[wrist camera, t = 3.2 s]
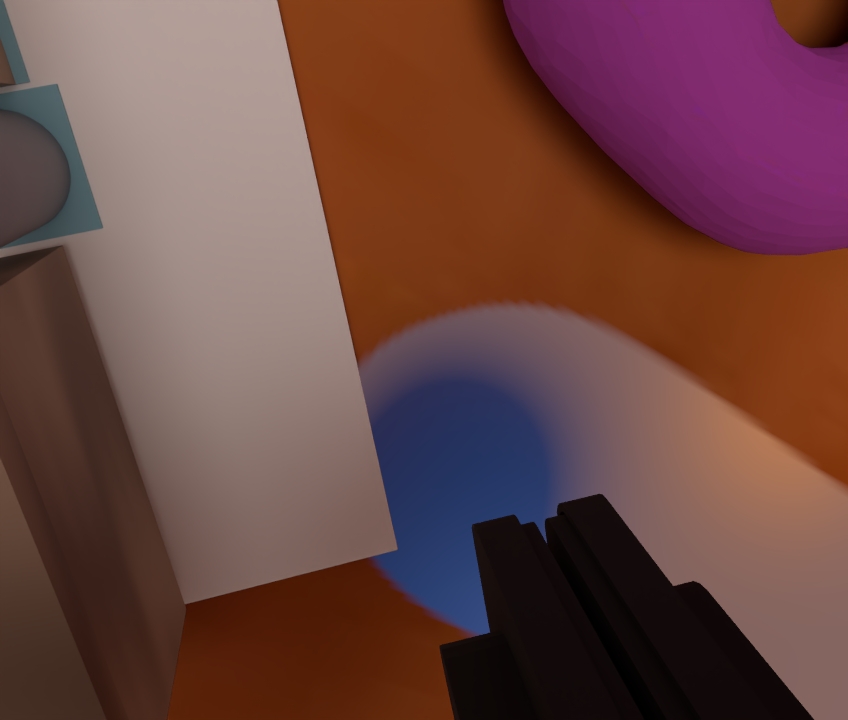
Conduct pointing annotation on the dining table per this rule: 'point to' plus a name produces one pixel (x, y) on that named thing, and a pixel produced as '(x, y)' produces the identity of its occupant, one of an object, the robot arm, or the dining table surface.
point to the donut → (705, 111)
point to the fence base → (197, 273)
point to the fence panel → (74, 521)
